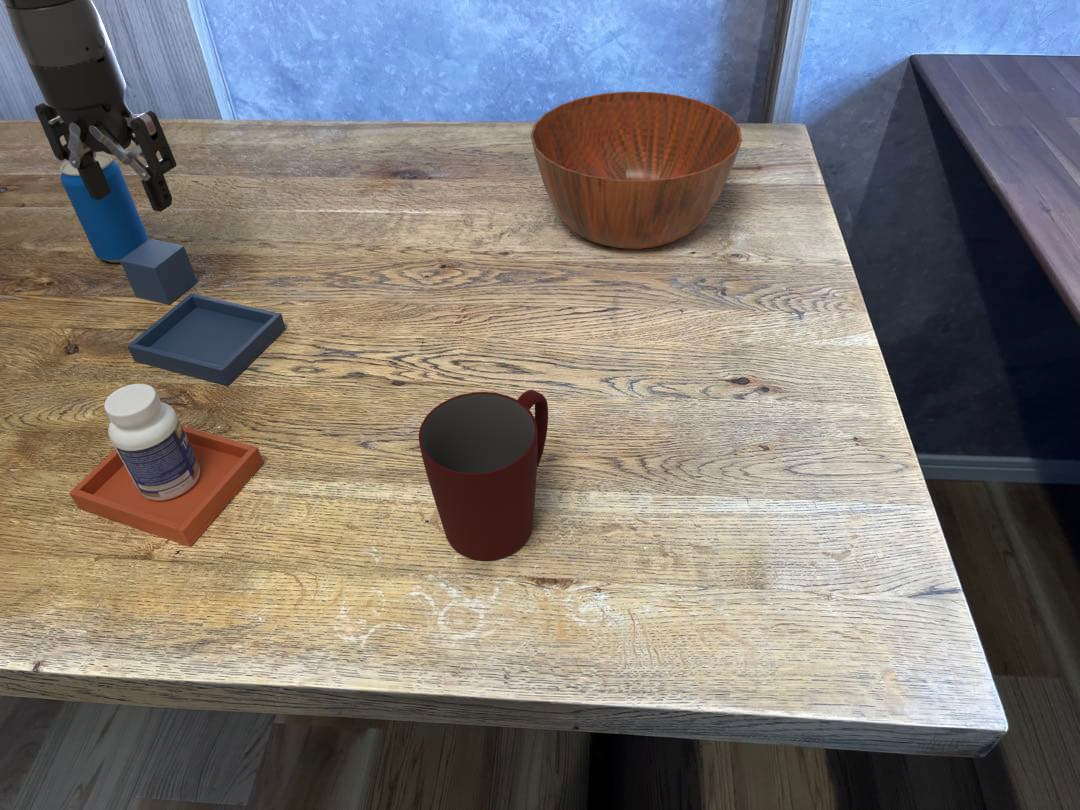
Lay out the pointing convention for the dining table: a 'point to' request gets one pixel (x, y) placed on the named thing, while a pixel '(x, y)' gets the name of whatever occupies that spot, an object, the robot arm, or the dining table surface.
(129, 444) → the pill bottle
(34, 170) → the dining table surface
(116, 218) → the beverage can
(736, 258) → the dining table surface
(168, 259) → the blue block
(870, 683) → the dining table surface
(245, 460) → the terracotta tray
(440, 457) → the mug
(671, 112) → the bowl
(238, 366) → the blue tray
